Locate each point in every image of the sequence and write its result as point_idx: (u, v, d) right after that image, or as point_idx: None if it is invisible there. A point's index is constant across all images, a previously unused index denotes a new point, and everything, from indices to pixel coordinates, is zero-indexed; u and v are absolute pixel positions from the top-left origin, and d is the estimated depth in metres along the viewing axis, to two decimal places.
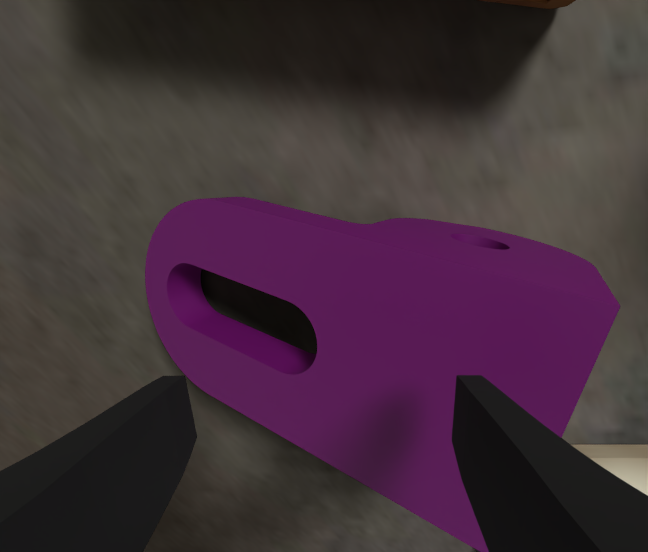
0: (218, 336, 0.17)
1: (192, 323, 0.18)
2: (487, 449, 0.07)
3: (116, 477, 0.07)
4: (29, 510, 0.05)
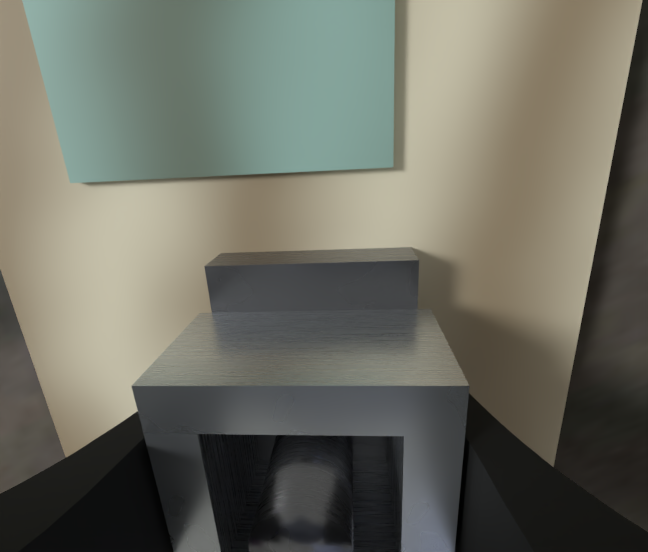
0: None
1: None
2: None
3: (151, 477, 0.07)
4: (75, 512, 0.05)
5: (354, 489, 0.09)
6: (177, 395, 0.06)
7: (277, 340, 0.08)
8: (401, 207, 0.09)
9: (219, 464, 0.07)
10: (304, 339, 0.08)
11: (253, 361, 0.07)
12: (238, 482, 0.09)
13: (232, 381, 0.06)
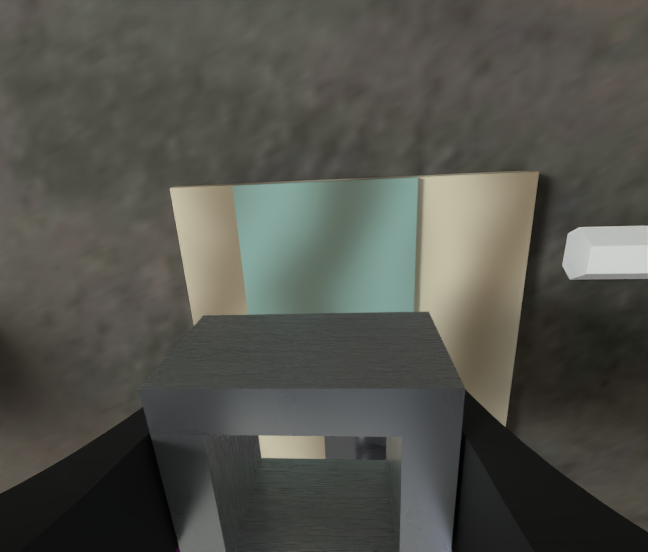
0: None
1: None
2: None
3: (151, 477, 0.07)
4: (76, 511, 0.05)
5: (354, 487, 0.10)
6: (183, 397, 0.06)
7: (279, 343, 0.08)
8: None
9: (223, 462, 0.08)
10: (305, 341, 0.08)
11: (256, 364, 0.07)
12: (241, 481, 0.09)
13: (236, 384, 0.06)
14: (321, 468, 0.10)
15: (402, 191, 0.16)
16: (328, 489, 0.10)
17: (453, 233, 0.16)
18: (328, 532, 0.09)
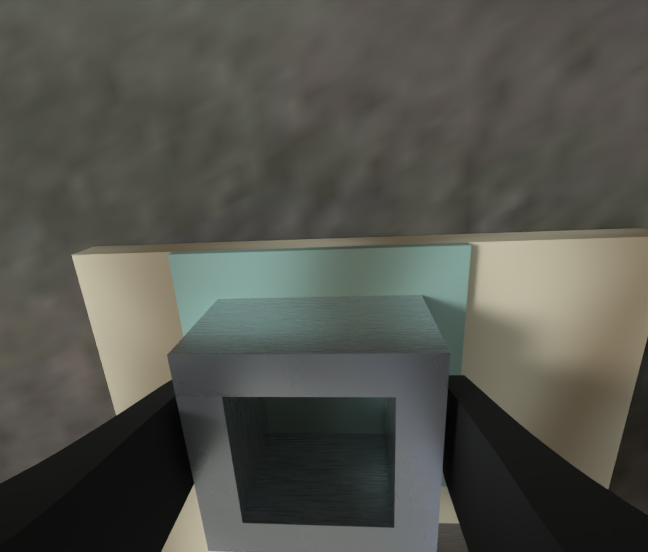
0: None
1: None
2: (466, 449, 0.07)
3: (135, 477, 0.07)
4: (54, 512, 0.05)
5: (354, 456, 0.11)
6: (205, 363, 0.07)
7: (288, 320, 0.09)
8: None
9: (237, 426, 0.09)
10: (310, 319, 0.09)
11: (268, 336, 0.08)
12: (252, 447, 0.10)
13: (252, 351, 0.07)
14: (324, 441, 0.11)
15: (443, 267, 0.10)
16: (330, 458, 0.11)
17: (523, 328, 0.10)
18: (331, 493, 0.09)
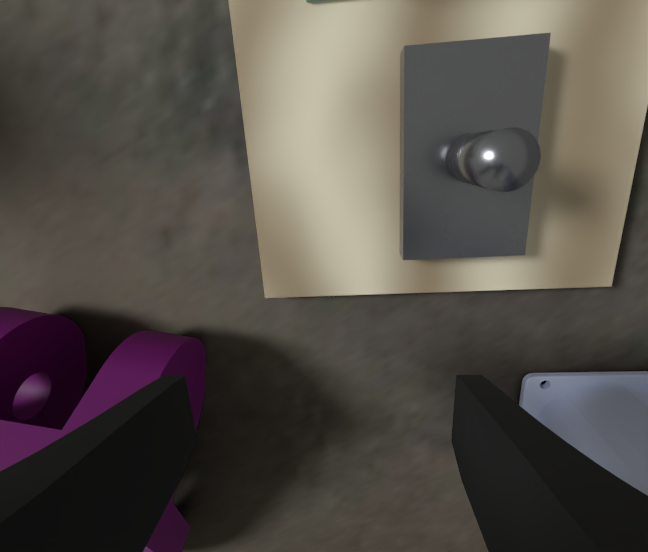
0: None
1: None
2: (487, 449, 0.07)
3: (116, 476, 0.07)
4: (29, 510, 0.05)
5: None
6: None
7: None
8: (530, 11, 0.14)
9: None
10: None
11: None
12: None
13: None
14: None
15: None
16: None
17: None
18: None
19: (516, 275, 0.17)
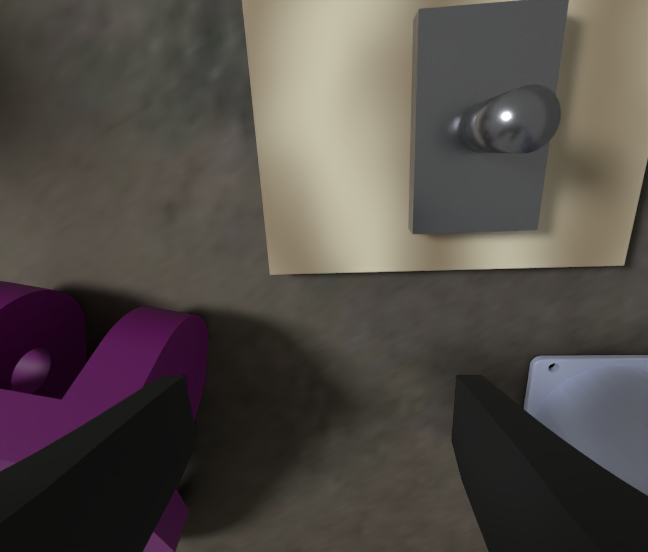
0: None
1: None
2: (487, 449, 0.07)
3: (116, 476, 0.07)
4: (28, 511, 0.05)
5: None
6: None
7: None
8: None
9: None
10: None
11: None
12: None
13: None
14: None
15: None
16: None
17: None
18: None
19: (527, 253, 0.16)
